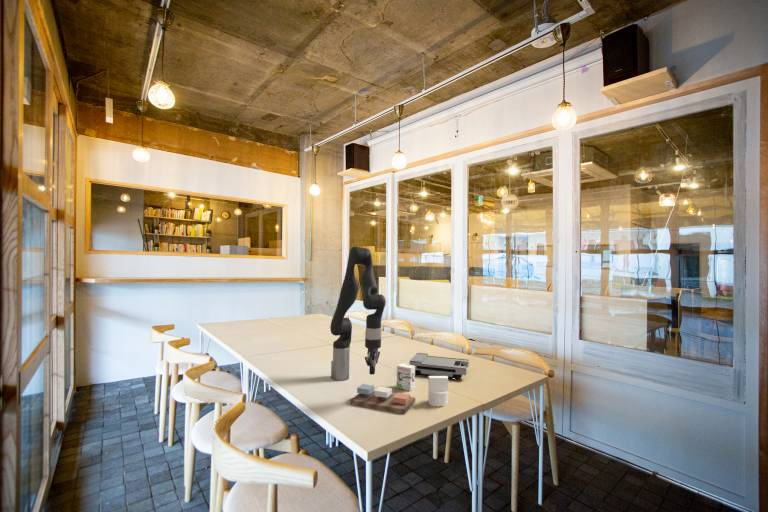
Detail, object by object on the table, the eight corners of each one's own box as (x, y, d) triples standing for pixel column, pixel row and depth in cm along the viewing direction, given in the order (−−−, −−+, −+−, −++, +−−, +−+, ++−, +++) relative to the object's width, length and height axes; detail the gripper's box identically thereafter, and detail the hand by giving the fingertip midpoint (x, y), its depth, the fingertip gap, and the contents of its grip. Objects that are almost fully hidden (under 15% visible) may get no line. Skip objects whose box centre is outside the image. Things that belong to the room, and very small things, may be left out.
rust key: (393, 402, 160) (393, 397, 160) (397, 397, 166) (397, 392, 166) (405, 404, 158) (405, 399, 158) (410, 400, 163) (410, 394, 163)
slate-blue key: (357, 392, 167) (357, 387, 167) (362, 388, 172) (362, 383, 173) (368, 394, 165) (368, 389, 165) (374, 390, 170) (374, 385, 170)
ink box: (395, 388, 185) (396, 365, 186) (400, 385, 190) (401, 363, 190) (410, 391, 181) (411, 367, 181) (415, 388, 185) (415, 365, 185)
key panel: (350, 404, 163) (350, 396, 163) (364, 393, 177) (364, 386, 177) (404, 414, 153) (404, 406, 153) (415, 401, 167) (415, 394, 167)
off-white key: (374, 395, 164) (374, 390, 164) (379, 391, 169) (379, 386, 169) (386, 398, 161) (387, 392, 161) (391, 393, 167) (391, 388, 167)
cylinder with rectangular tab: (445, 399, 171) (445, 374, 171) (449, 406, 162) (450, 380, 162) (426, 399, 171) (427, 373, 171) (429, 406, 162) (430, 380, 162)
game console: (465, 381, 198) (465, 367, 198) (409, 375, 208) (409, 361, 208) (468, 371, 218) (468, 357, 218) (416, 365, 227) (417, 352, 228)
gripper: (371, 333, 176) (370, 369, 176) (359, 339, 163) (358, 377, 163) (385, 335, 173) (384, 371, 173) (375, 340, 161) (373, 379, 161)
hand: (372, 374), depth 168 cm, fingers closed
